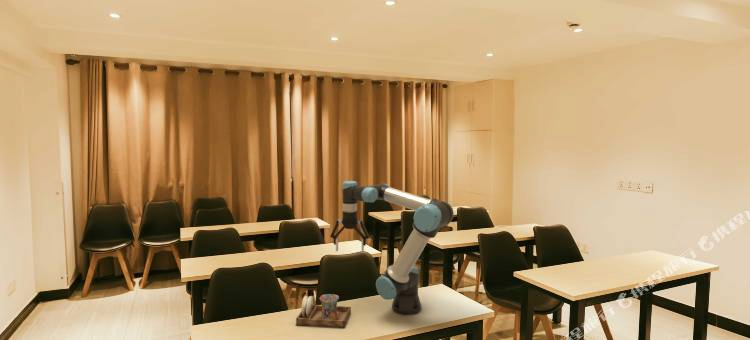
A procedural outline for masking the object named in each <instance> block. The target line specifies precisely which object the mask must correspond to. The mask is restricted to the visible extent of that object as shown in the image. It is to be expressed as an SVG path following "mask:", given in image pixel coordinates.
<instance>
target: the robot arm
mask: <svg viewBox="0 0 750 340" xmlns="http://www.w3.org/2000/svg"><path fill="white" fill-rule="evenodd" d="M341 191H342V219H341V220H340V219H337V220H336V224H335V226H334V227H333V230H332V232H331V234H330V238H333V245H335V252H338V251H339V235H340V234H341V233H342V232H343V230H344V229H346V230H353V229H354V230H355V231H356V232H357V234H358V235H359V236H360V237H361V238H362V239H361V253H364V251H365V246H367V245H366V244H367V240H368V239H369V238H370V235H369V233H368V230H367V228H366V226H365V225H364V224H365V223H364V220H363V219H361V220H358V212H357V211H358V202H365V203H374V202H375V201H376V200H381V201H385V202H387V203H390V204H394V205H397V206H399V207H403V208H406V209H409V210H413V211H415V212H414V215H413V222H412V228H413V230H412V231H411V233H410V234H409V236H408V238H407V240H406V241H405V244H404V245H403V247H402V249H401V250H400V252H399V253H398V255H397V258H396V259H395V261H394V262H393V264H391V265H389V266H388V267H387V268H386V269H385V272H384V273H383V275H381V276H379V277H378V278H377V279H376V282H375V289H376V291H377V294H378V295H379V296H380V297H381V298H382V299H384V300H388V301H389V300H392V299H393V300H392V303H391V310H392V311H393V312H394V313H397V314H401V315H416V314H419V313H420V312H421V311H422V304H421V301H420V296H419V274H420V273H419V268H418V267H417V266H416V265H415V264H416V263H417V261H418V259H419V257H420V256H421V254H422V253H423V251H424V249H425V247H426V245H427V244H428V243H429V241H430V239H434V238H435V237H436V236H437V234H438V232H439V231H440V229H441V228H443V227H446V226H448V225H450V223H451V222H452V221H453V219H454V213H455V212H454V209H453V206H451V204H450V203H448V202H446V201H444V200H441V199H437V198H434V197H433V198H431V199H430V198H427V197H424V196H420V195H417V194H414V193H410V192H407V191H404V190H400V189H396V188H394V187H391V186H390V185H389V184H386V183H379V184H375V185H374V184H373V185H369V186H368V185H367V186H362V185H361V186H360V185H358V182H357V181H354V180H346V181H343V182H342V190H341ZM341 224H342V227H341V228H340V229H339V230H338V231H337V229H338V227H339V225H341ZM358 224H359V226H360V227H361V229H360V228H359V227H358ZM361 230H362V231H363V232H362V231H361ZM336 232H337V233H336ZM335 233H336V234H335Z"/></svg>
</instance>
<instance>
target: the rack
mask: <svg viewBox="0 0 750 340" xmlns="http://www.w3.org/2000/svg"><path fill="white" fill-rule="evenodd" d="M351 309H352V308H351V306H341V305H337V306H336V311H337V315H338V318H337V319H336V320H326V319H321V315H322V304H313V310H312V313H310V316H309V318H308V317H307V315H306V317H302V311H301V310H300V312H299V314H298V315H297V317H296V318H295V319H296V320H295V322H296V323H295V325H296V326H297V327H309V328H311V327H312V328H329V329H331V328H332V329H346V326H347V324H348V322H349V319H350V316H351V314H352V313H351V312H352V310H351Z"/></svg>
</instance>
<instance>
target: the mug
mask: <svg viewBox="0 0 750 340" xmlns="http://www.w3.org/2000/svg"><path fill="white" fill-rule="evenodd" d="M339 299H340V297H339V295H337V294H334V293H333V294H332V293H327V294H326V293H325V294H322V295H320V297H319V301H320V302H321V303H320V305H322V315H321V319H326V320H336V319H337V318H338V315H337V311H336V306H338V302H339Z"/></svg>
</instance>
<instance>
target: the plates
mask: <svg viewBox="0 0 750 340" xmlns="http://www.w3.org/2000/svg"><path fill="white" fill-rule="evenodd" d="M313 305H314V299H313V296H312V295H310V296H307V295H304V296H303V299H302V302H301V310H300V312H301V311H302V317H306V315H307V317H308V318H309V316H310V313H312V310H313Z"/></svg>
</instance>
